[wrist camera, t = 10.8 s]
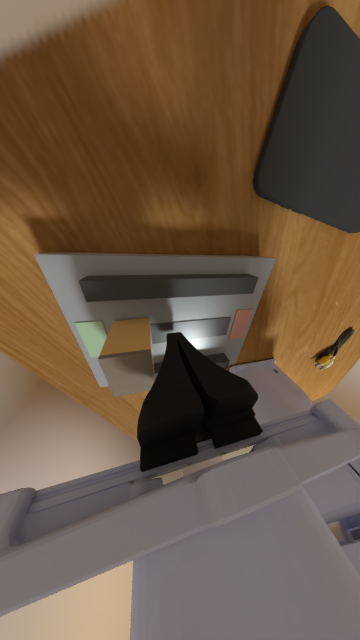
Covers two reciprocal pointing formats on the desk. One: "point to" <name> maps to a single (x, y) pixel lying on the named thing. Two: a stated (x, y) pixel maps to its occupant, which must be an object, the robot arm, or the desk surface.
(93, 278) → the dark gray raised rails
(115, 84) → the desk surface
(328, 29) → the phone
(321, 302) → the desk surface
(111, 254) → the grey base plate
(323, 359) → the composite cable
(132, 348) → the lever
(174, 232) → the desk surface
